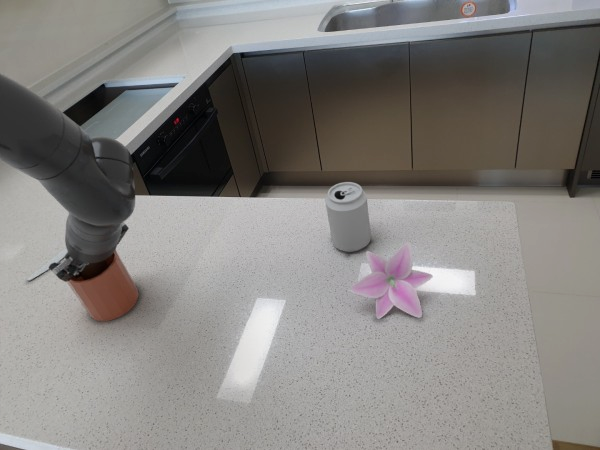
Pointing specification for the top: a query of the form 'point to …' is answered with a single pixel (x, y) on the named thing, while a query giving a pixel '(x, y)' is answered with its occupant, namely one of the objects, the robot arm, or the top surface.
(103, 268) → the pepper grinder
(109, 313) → the terracotta plant pot
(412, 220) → the top surface
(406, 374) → the top surface
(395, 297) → the lily
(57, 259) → the butter knife
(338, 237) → the can
